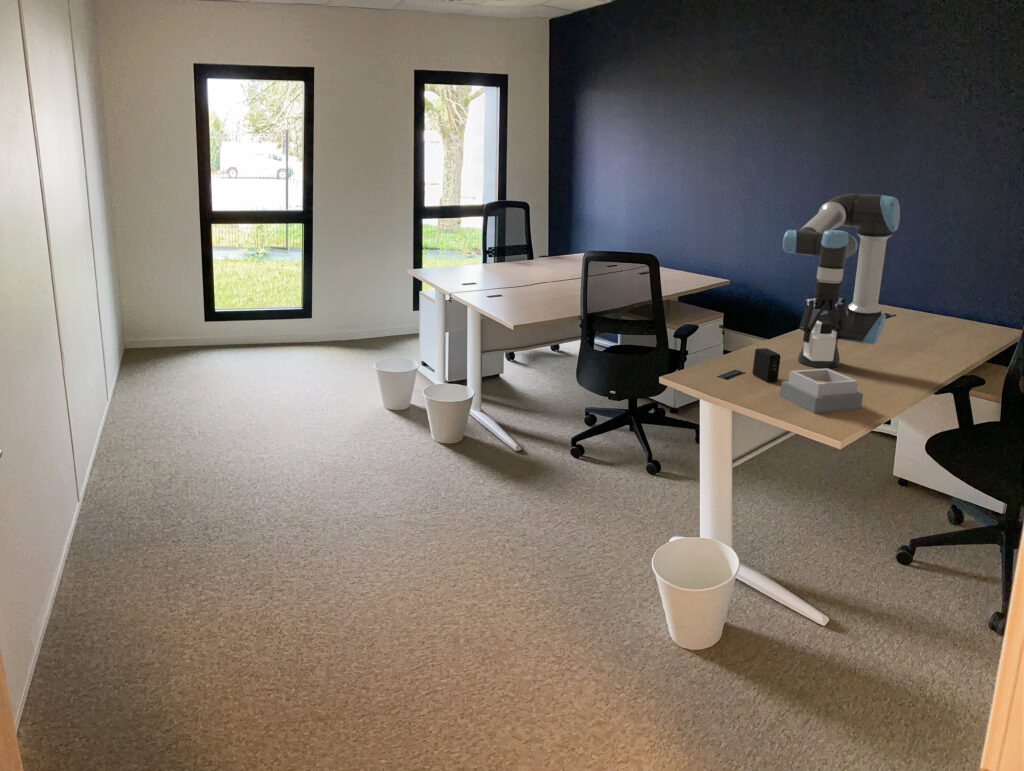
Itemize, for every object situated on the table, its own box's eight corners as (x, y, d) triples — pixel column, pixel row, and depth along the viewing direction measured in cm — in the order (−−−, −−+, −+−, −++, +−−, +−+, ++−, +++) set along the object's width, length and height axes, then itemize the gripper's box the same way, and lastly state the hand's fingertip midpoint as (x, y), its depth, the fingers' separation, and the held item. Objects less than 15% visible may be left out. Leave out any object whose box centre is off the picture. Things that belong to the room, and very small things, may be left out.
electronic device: (767, 382, 295) (770, 355, 292) (752, 374, 304) (755, 348, 301) (777, 382, 296) (781, 354, 293) (762, 374, 305) (765, 347, 302)
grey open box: (824, 392, 286) (828, 366, 283) (860, 408, 270) (865, 382, 267) (779, 395, 280) (783, 370, 278) (814, 413, 264) (817, 386, 261)
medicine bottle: (824, 355, 271) (829, 319, 268) (833, 361, 264) (838, 324, 261) (802, 355, 271) (807, 319, 267) (811, 361, 264) (816, 324, 260)
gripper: (848, 278, 267) (837, 346, 274) (793, 279, 260) (783, 350, 267) (864, 282, 260) (853, 352, 267) (808, 283, 254) (798, 356, 260)
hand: (818, 351), depth 267 cm, fingers closed on medicine bottle, 8 cm apart
